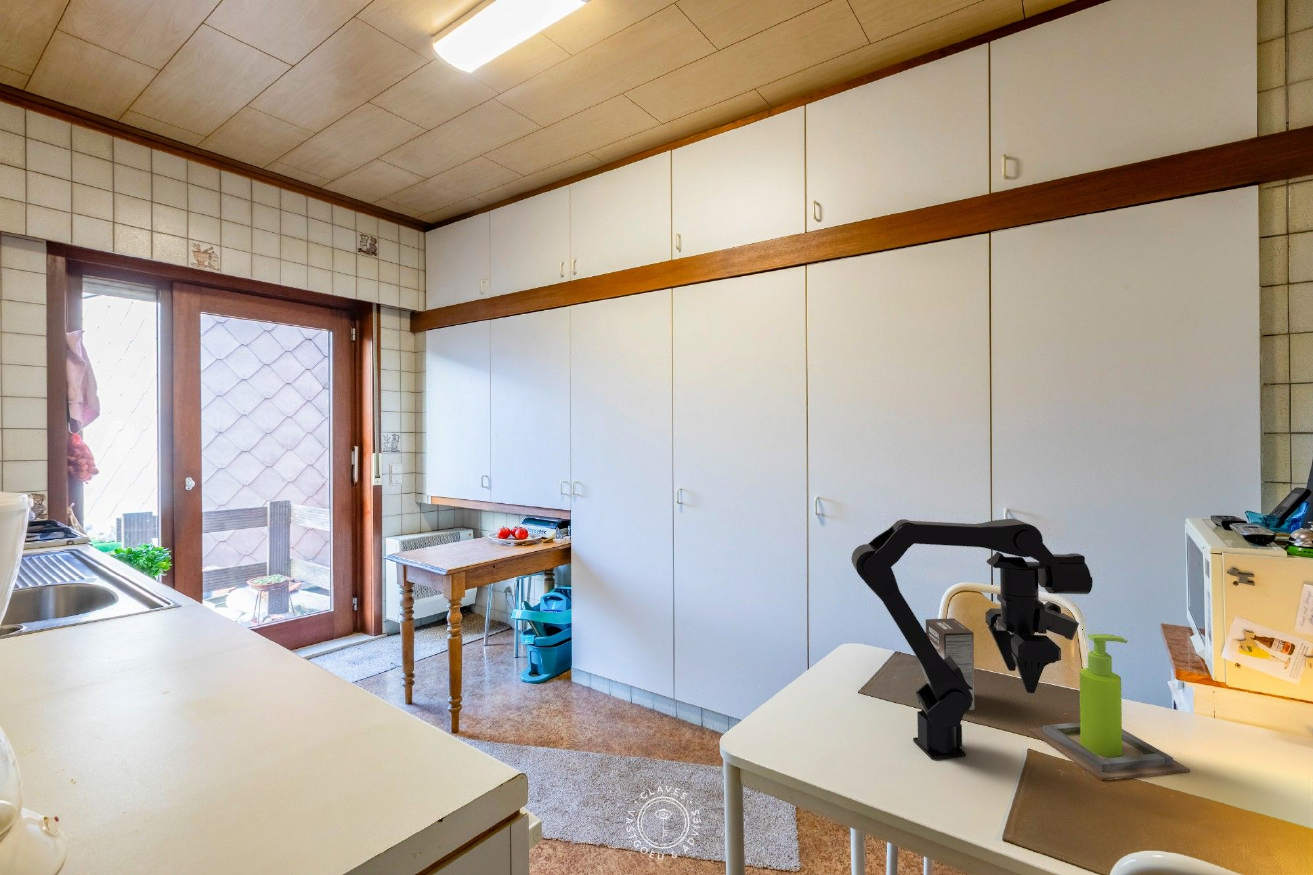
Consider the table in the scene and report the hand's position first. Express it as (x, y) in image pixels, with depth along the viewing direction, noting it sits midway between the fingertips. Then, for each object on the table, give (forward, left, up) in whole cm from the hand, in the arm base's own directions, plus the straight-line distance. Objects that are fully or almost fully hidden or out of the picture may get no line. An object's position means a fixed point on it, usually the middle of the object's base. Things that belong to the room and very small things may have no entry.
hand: (1020, 681), depth 105 cm
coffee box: (0, +21, -13) cm, 25 cm away
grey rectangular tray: (+15, -1, -13) cm, 20 cm away
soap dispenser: (+15, -1, -13) cm, 19 cm away
